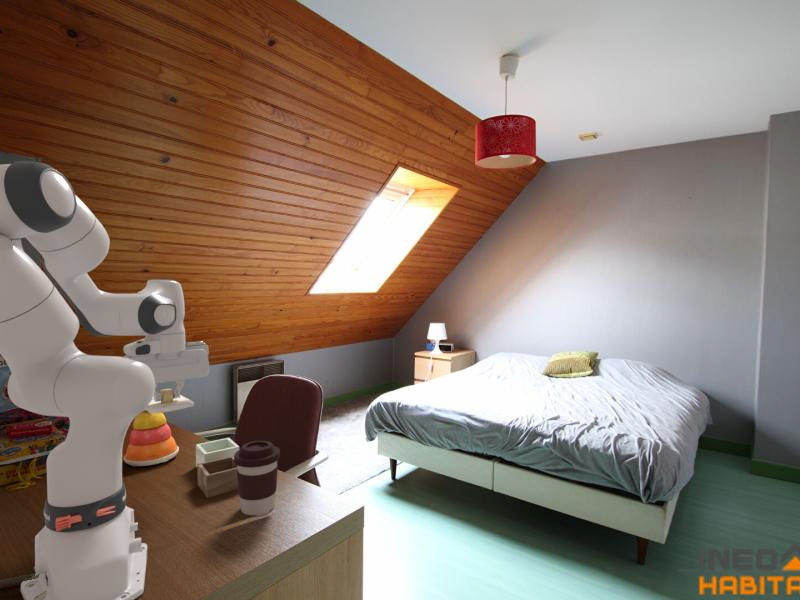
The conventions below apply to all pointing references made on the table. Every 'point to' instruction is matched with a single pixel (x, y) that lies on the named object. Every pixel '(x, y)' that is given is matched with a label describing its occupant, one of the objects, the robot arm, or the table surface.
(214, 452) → the planter
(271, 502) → the coffee cup
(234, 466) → the box
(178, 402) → the lid
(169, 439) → the stacking toy
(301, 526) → the table surface
